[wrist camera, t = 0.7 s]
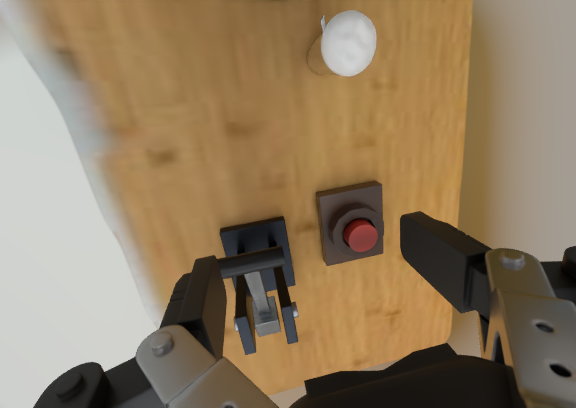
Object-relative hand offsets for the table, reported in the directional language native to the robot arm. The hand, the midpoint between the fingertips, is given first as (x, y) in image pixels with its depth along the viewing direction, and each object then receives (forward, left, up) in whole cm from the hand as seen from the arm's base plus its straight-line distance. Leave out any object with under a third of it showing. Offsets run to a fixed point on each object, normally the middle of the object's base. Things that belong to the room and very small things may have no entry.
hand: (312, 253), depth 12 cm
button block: (+11, +9, -22) cm, 26 cm away
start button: (+11, +9, -19) cm, 23 cm away
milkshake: (-9, +7, -22) cm, 25 cm away
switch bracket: (+13, -3, -22) cm, 26 cm away
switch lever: (+8, -3, -10) cm, 14 cm away
